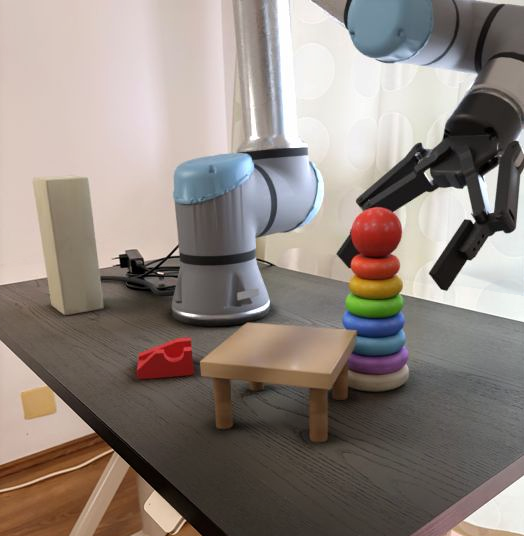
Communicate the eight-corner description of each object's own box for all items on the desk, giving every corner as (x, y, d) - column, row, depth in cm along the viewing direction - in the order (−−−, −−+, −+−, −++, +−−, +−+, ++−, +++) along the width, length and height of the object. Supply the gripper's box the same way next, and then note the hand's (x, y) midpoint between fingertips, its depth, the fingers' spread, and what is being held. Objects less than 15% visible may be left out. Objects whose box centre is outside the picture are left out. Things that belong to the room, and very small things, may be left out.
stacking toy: (323, 373, 67) (323, 206, 61) (382, 362, 70) (389, 200, 63) (358, 399, 60) (363, 214, 54) (423, 385, 63) (435, 207, 56)
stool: (205, 430, 55) (199, 361, 53) (249, 381, 66) (246, 322, 63) (330, 447, 51) (330, 373, 49) (356, 393, 62) (357, 329, 59)
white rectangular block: (109, 307, 97) (92, 176, 90) (65, 316, 93) (43, 179, 86) (93, 298, 103) (76, 174, 96) (51, 305, 100) (30, 177, 92)
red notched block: (192, 360, 73) (190, 337, 72) (193, 374, 68) (191, 350, 67) (140, 364, 72) (137, 341, 71) (137, 379, 67) (134, 355, 66)
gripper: (618, 137, 56) (504, 316, 54) (420, 142, 76) (330, 273, 74) (596, 76, 52) (471, 268, 49) (392, 97, 72) (296, 235, 69)
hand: (386, 271), depth 61 cm, fingers open, 13 cm apart
